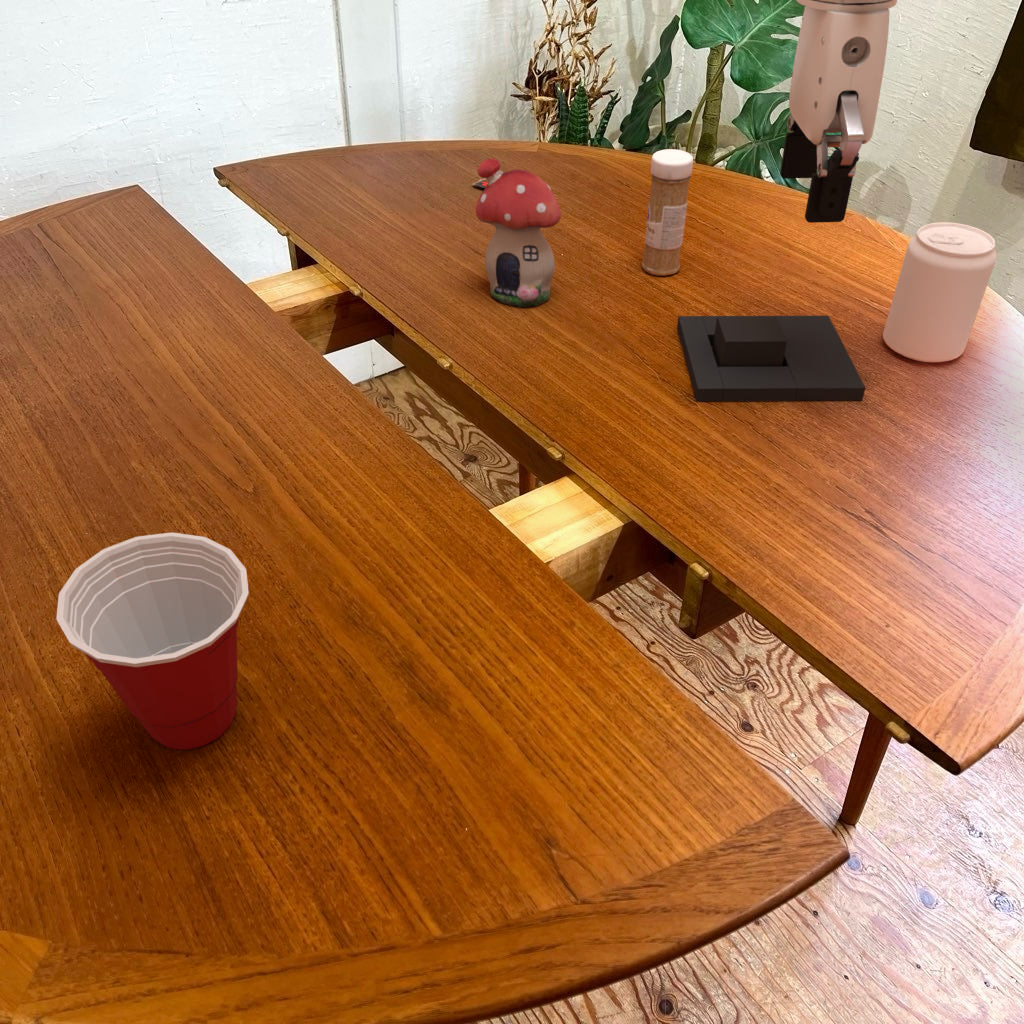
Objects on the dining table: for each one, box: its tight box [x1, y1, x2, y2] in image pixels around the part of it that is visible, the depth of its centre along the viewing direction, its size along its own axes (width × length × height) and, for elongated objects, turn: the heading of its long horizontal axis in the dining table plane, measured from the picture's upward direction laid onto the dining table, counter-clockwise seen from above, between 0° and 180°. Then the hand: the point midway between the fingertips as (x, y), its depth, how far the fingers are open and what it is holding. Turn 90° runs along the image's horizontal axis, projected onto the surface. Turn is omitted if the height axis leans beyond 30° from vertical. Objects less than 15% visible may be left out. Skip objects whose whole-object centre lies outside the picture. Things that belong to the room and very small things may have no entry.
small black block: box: [711, 315, 787, 367], centre depth 96 cm, size 6×5×4 cm
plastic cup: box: [56, 532, 250, 751], centre depth 60 cm, size 11×11×12 cm
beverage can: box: [882, 221, 997, 363], centre depth 96 cm, size 8×8×12 cm
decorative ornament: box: [475, 157, 562, 308], centre depth 104 cm, size 9×7×15 cm
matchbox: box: [470, 178, 488, 189], centre depth 132 cm, size 5×5×1 cm
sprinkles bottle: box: [641, 148, 694, 277], centre depth 109 cm, size 5×5×13 cm
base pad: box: [676, 315, 866, 402], centre depth 97 cm, size 16×14×2 cm
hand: (810, 198), depth 84 cm, fingers open, 9 cm apart
